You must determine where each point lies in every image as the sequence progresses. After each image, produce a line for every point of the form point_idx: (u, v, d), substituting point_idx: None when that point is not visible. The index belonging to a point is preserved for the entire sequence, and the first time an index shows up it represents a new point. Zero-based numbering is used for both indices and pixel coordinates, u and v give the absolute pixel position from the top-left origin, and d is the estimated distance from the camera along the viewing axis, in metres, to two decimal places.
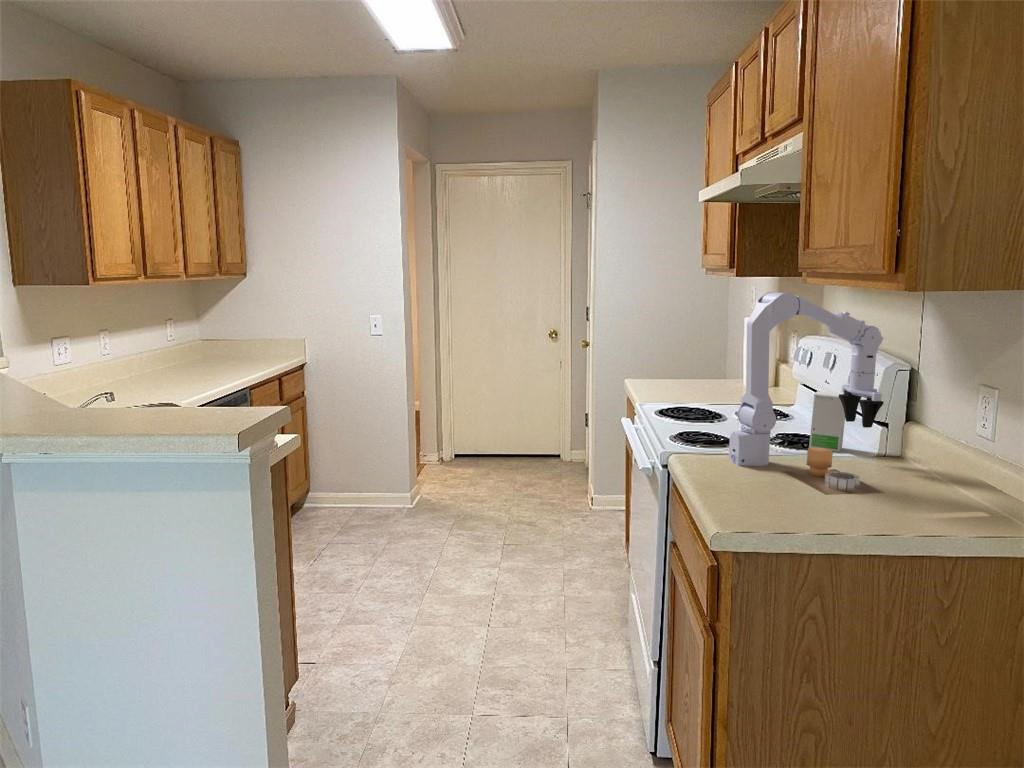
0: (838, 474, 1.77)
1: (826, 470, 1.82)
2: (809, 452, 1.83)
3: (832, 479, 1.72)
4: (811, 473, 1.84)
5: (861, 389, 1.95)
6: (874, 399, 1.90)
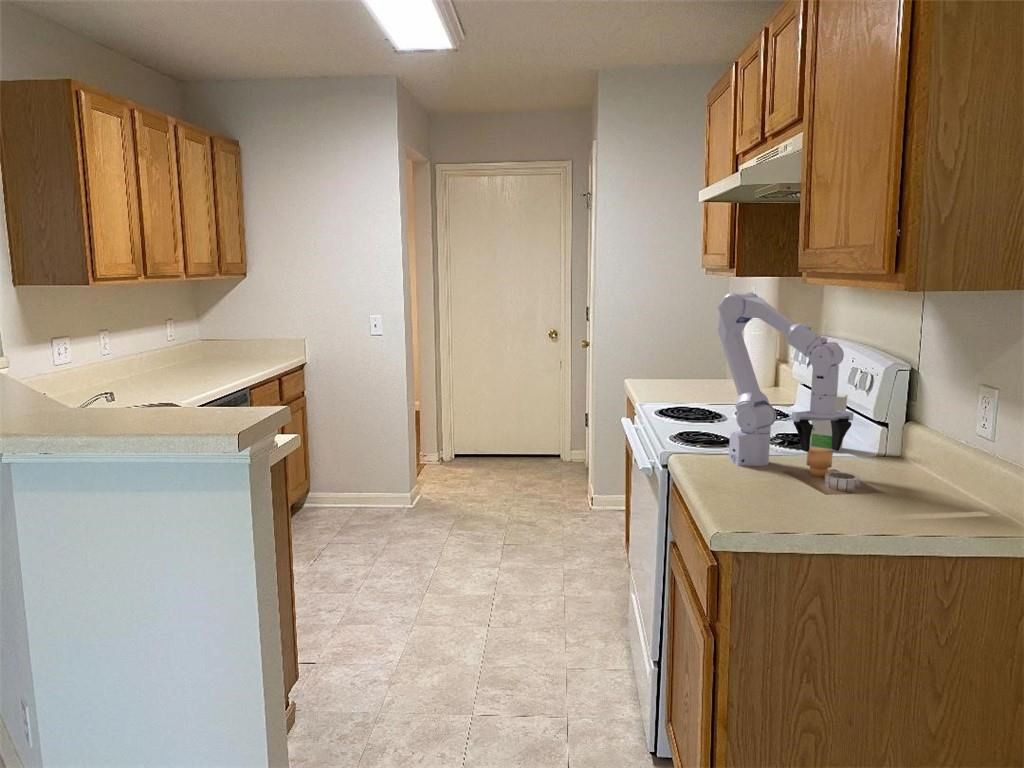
0: (838, 474, 1.77)
1: (826, 470, 1.82)
2: (809, 452, 1.83)
3: (832, 479, 1.72)
4: (811, 473, 1.84)
5: (810, 410, 1.83)
6: (792, 418, 1.82)
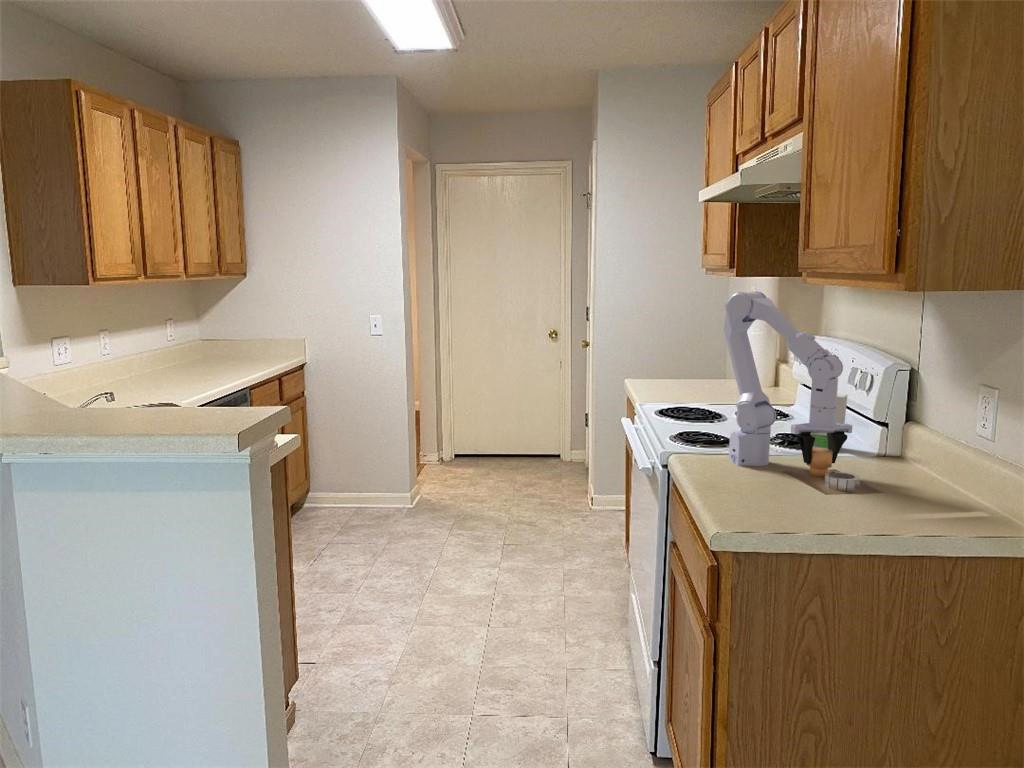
0: (838, 474, 1.77)
1: (826, 470, 1.82)
2: None
3: (832, 479, 1.72)
4: (811, 473, 1.84)
5: (809, 422, 1.83)
6: (791, 430, 1.82)
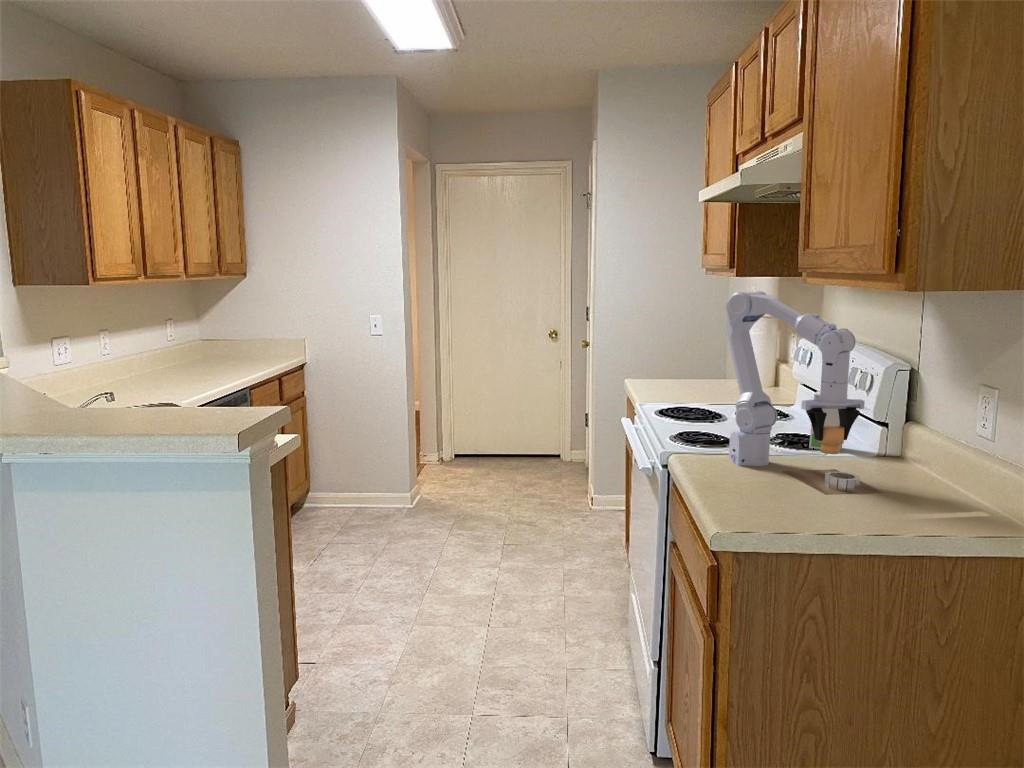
0: (838, 474, 1.77)
1: (838, 447, 1.78)
2: None
3: (832, 479, 1.72)
4: (822, 450, 1.79)
5: (820, 398, 1.79)
6: (801, 406, 1.78)
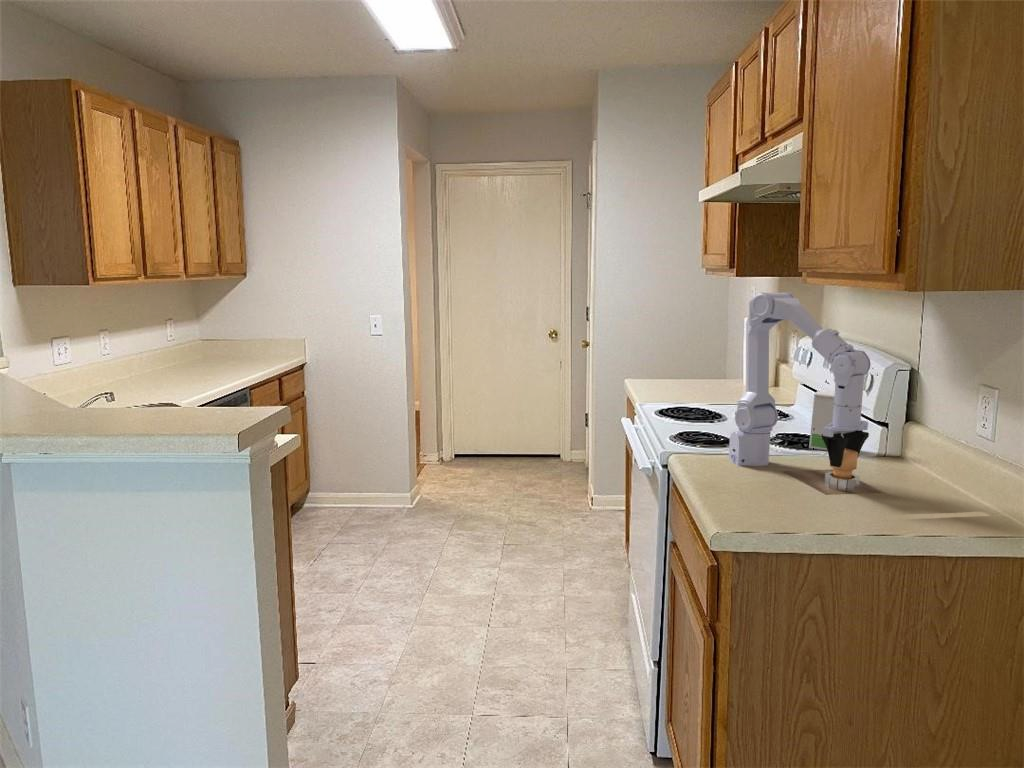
0: None
1: None
2: None
3: (832, 479, 1.72)
4: (838, 476, 1.73)
5: (834, 423, 1.72)
6: (823, 433, 1.69)
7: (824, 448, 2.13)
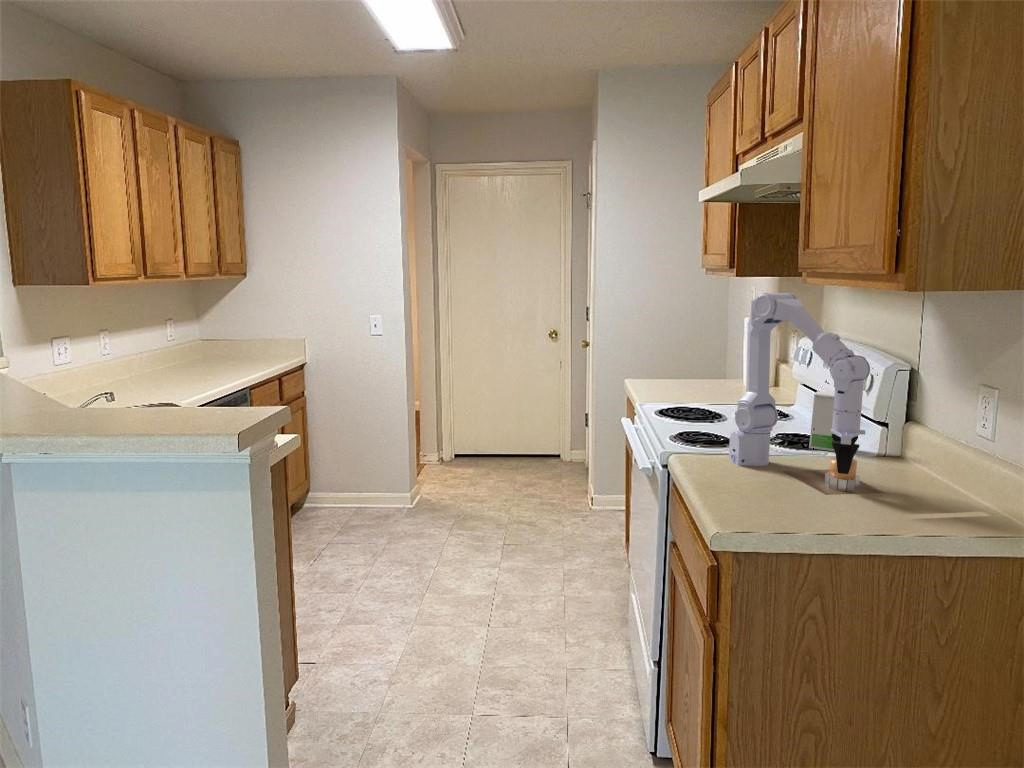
0: None
1: None
2: None
3: (832, 479, 1.72)
4: None
5: (838, 429, 1.71)
6: (841, 442, 1.66)
7: (824, 448, 2.13)
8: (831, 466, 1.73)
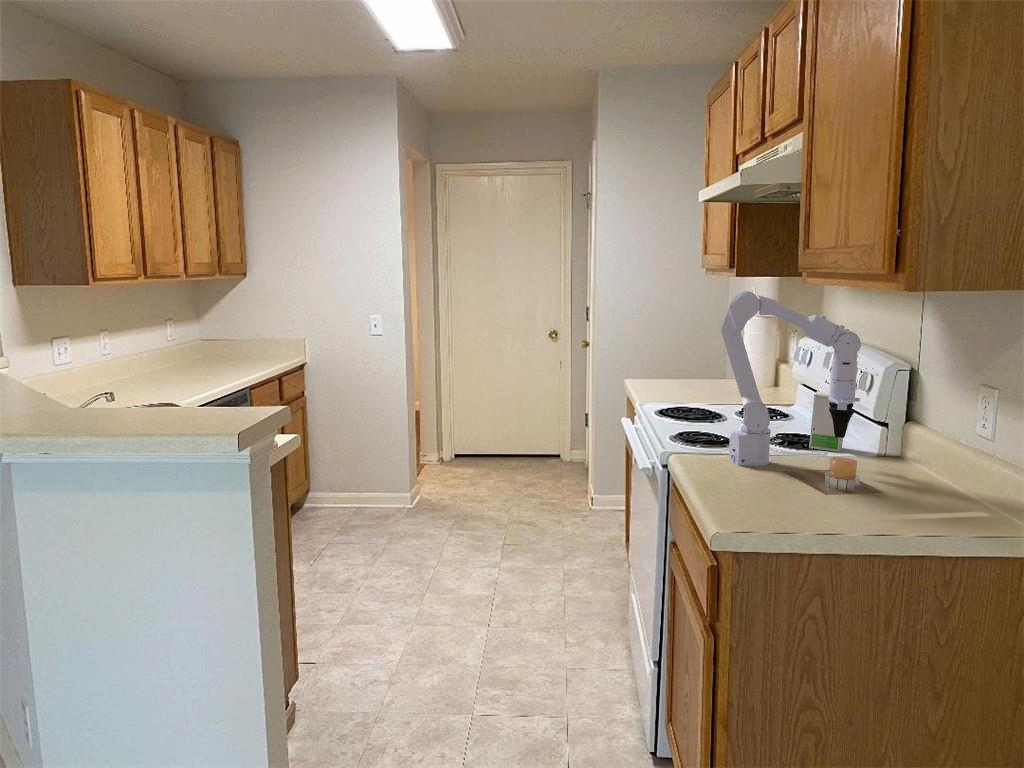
0: None
1: None
2: (844, 464, 1.71)
3: (832, 479, 1.72)
4: None
5: (835, 397, 1.86)
6: (838, 407, 1.82)
7: (824, 448, 2.13)
8: (831, 466, 1.73)
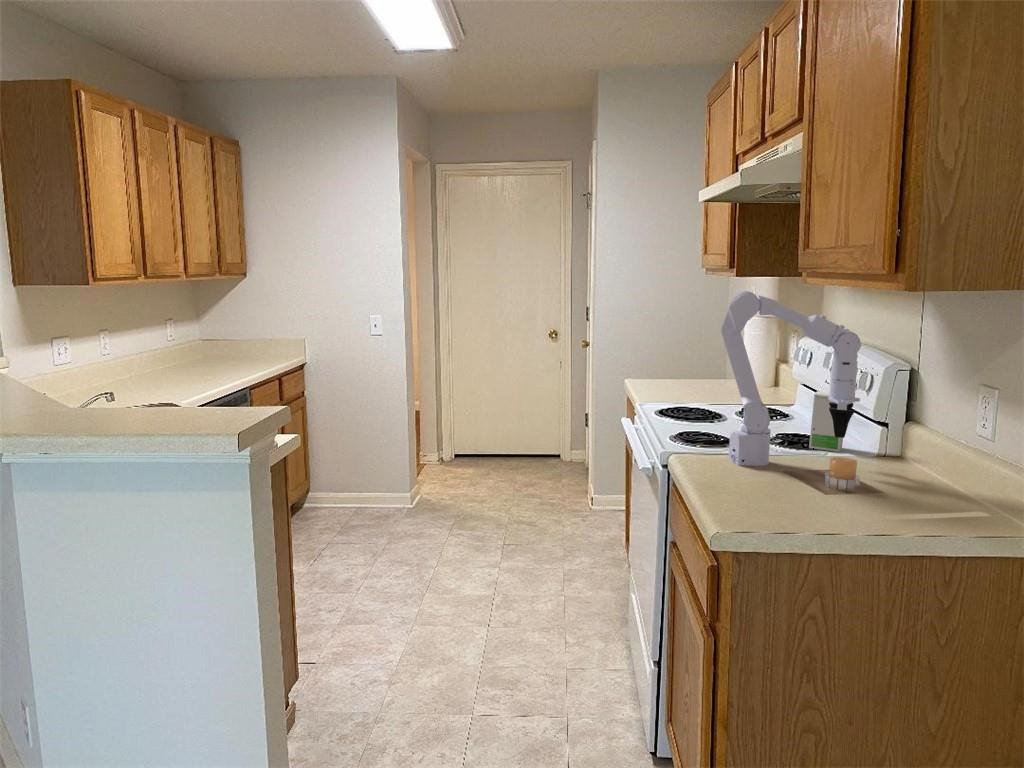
0: None
1: None
2: (844, 464, 1.71)
3: (832, 479, 1.72)
4: None
5: (835, 397, 1.86)
6: (838, 407, 1.82)
7: (824, 448, 2.13)
8: (831, 466, 1.73)
